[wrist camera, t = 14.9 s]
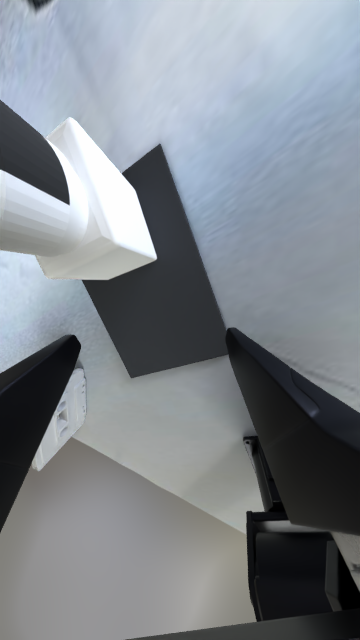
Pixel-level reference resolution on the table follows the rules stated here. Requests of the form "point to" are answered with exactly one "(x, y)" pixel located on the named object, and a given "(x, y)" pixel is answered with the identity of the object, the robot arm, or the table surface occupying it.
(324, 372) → the table surface
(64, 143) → the medicine bottle
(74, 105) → the table surface
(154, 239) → the desk mat
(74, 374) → the cassette
